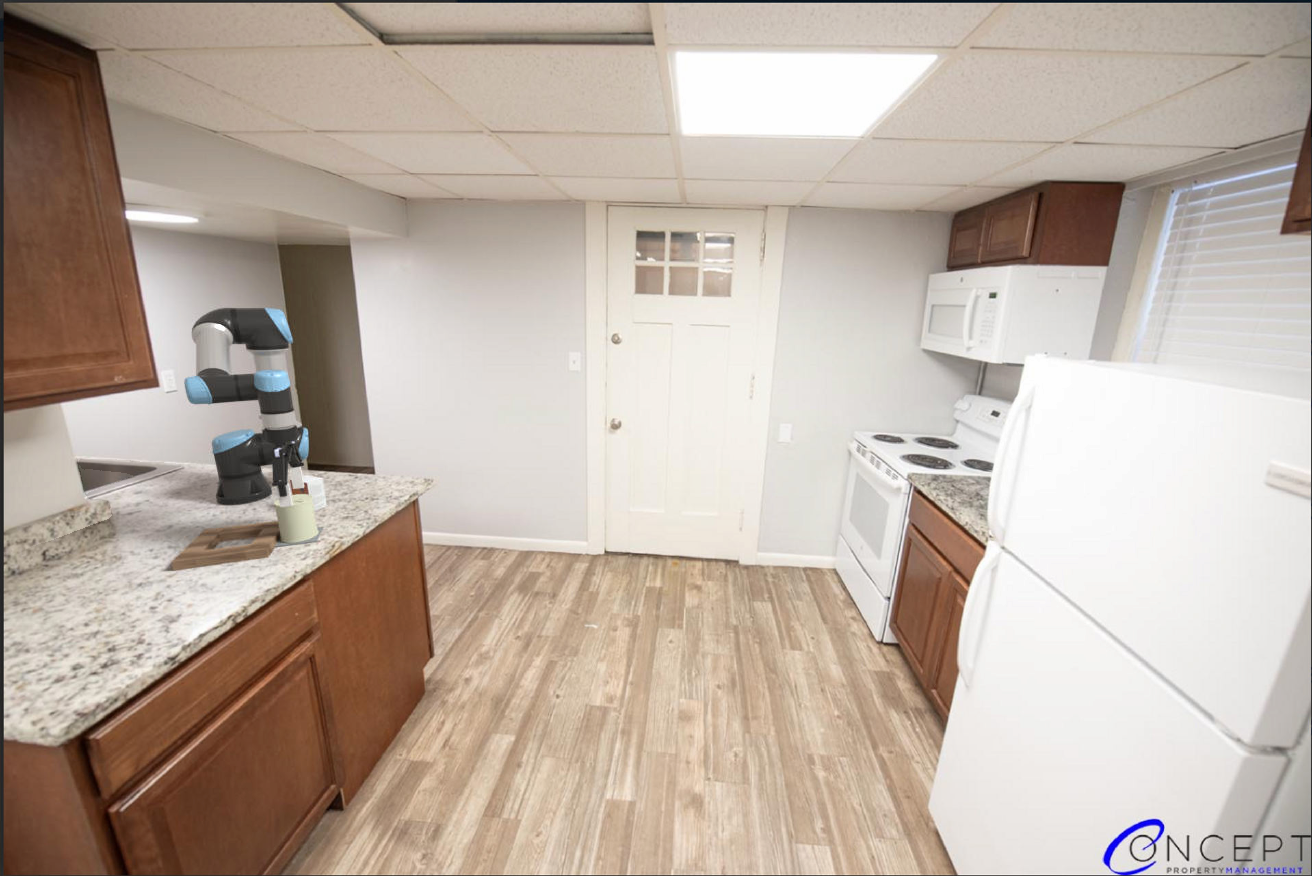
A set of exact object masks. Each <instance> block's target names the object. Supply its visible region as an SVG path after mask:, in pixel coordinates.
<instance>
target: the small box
mask: <svg viewBox="0 0 1312 876" xmlns="http://www.w3.org/2000/svg"><path fill="white" fill-rule="evenodd" d="M302 476H303V482H304V488H298V489H293V485H292V480H291V479H289V484H290V491H291V495H297V494H308V495H311V496H312V497H313V506H314V512H316V511H318V510H321V509H324V508H327V506H328V505H327V500H326V491H325V484H324V478H323V477H319V476H312V475H308V474H305V475H303V474H302Z"/></svg>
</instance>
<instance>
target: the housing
mask: <svg viewBox="0 0 1312 876" xmlns="http://www.w3.org/2000/svg"><path fill="white" fill-rule="evenodd" d="M280 537H281V536H280V530H279V524H278V520H275V521H274V520H273V521H266V522H265V521H263V522H256V523H249V524H239V525H231V526H223V527H214V528H206V529H204V530H202V531H201V532H200V533H199V534H198V535H196V537H195V538H194V539H193V540H192V541H190V543H189V544H188V545H187V546H186V547H185V548H184V549H183V550H182V551H181V552H180V553H179V554H178V555H176V557H175V558H174V559H173V560H172V561H171V565H172V566H171V567H172V571H175V572H176V571H182V570H188V569H190V570H191V569H195V568H196V569H197V568H203V567H208V566H217V565H223V564H231V563H238V562H245V561H251V560H252V561H253V560H258V559H266V558H269V557H270V556H271V554H272V552H273V551H274V549H276V547H275V545H276V543H277V542H278V540H279V539H280ZM252 538H254V540H253V541H252V542H251V543H250V544H242V545H235V546H228V547H221V548H219V547H218V548H216V547H217V546H218V545H219V544H220V543H222V542H230V541H238V540H245V539H246V540H247V539H252Z"/></svg>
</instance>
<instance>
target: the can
mask: <svg viewBox="0 0 1312 876" xmlns="http://www.w3.org/2000/svg"><path fill="white" fill-rule="evenodd" d="M291 497H292V503H293V505H292V506H287V507H280V502H279V498H278V499H277V500H275V501H274V502H273V505H274V508H275V515H276V519H277V521H278V524H279V530H280V536H281V541H282V542H284V543H297V542H302V541H306V540H309V539H311V538H313V537H315V536H316V535H317V534H318V533H319V531H318V529H317V527H318V525H317V519H316V518H317V517H316V513H315V512H316V511H314V506H313V497H312V496H311V495H308V494H297V495H292V494H291Z"/></svg>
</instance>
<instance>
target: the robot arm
mask: <svg viewBox="0 0 1312 876" xmlns="http://www.w3.org/2000/svg"><path fill="white" fill-rule="evenodd" d="M191 339H192V340H193V342H194V344H195V359H196V360H195V375H194V376H188V377H186V378H184V381H183V382H184V389H185V393H186V398H187V400H188V402H189V403H190V404H192V405H211V404H212V405H213V404H223V403H238V402H247V401H248V402H250V401H257V402H258V407H259V412H260V415H258V419H261V421H262V422H261V423H262V427H261V432H259V433H256V432H255V431H254V429H250V428H248V429H238V430H233V431H230V432H226V433H223V434H220V435H218V436H216V437H214V438H213V439H212V440H211V447H212V448H211V449H212V452H211V453H212V455H213V458H214V461H215V467H216V470H217V471H216V472H217V476H218V483H217V488H216V493H215V498H216V503H217V504H219V505H223V506H234V505H235V506H236V505H242V504H243V505H244V504H249V503H250V504H251V503H254V502H257V501H261V500H263V499H266V498H268V497H269V496H271V495H272V494H273V489H272V487H276V490H277V497H278V499H279V502H280V507H287V506H292V505H293V503H292V497H291V495H292V491H291V485H290V482H288V480H289V479H288V477H289V476H288V474H290V478H291V480H292V485H293V489H298V488H304V482H303V473H302V472H303V470H302V467H304V465H305V463H304V462H303V461H304V460H306V459H307V458H308V456H309V451H310V450H309V444H310V442H309V440H310V439H309V430H308V428H306V427H303V424H302V422H300V421H299V420H297V417H296V412H295V406H294V401H293V395H292V388H291V381H290V380H291V379H290V377H289V371H288V366H287V365H288V364H287V360H286V352H288V351H289V349H290V347H289V346H290V345H289V344H293V343H294V339H293V336H292V333H291V330H290V326H289V324H288V321H287V318H286V315H285V313H284V311H283V310H282V309H279V308H272V307H270V308H269V307H221V308H217V309H214V310H211V311H208V312H207V313H205V314H203V315H202V316H200V317H199V318H198V319H197V320H196V321H195V322H194V324H193V326H192V328H191ZM232 345H245V349H246V351H248V352H249V353H251V354H252V355H253V362H254V365H255V371H256V372H254V373H242V374H233V372H232V360H231V351H230V348H231V346H232ZM265 466H272V469H271V470H272V483H271V484H270V482H269V481H268V480H267V478H266V477H265V475H264V474H263V470H262V467H265ZM289 466H290V468H289Z"/></svg>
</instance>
